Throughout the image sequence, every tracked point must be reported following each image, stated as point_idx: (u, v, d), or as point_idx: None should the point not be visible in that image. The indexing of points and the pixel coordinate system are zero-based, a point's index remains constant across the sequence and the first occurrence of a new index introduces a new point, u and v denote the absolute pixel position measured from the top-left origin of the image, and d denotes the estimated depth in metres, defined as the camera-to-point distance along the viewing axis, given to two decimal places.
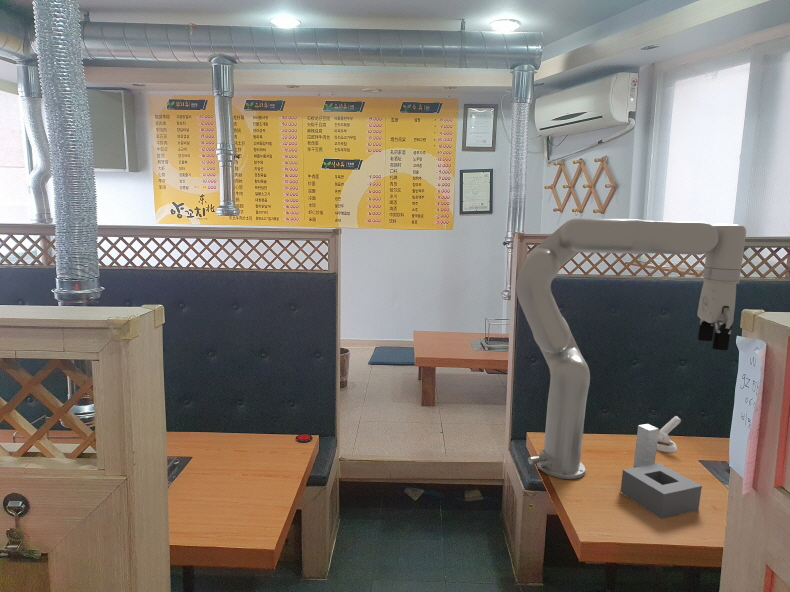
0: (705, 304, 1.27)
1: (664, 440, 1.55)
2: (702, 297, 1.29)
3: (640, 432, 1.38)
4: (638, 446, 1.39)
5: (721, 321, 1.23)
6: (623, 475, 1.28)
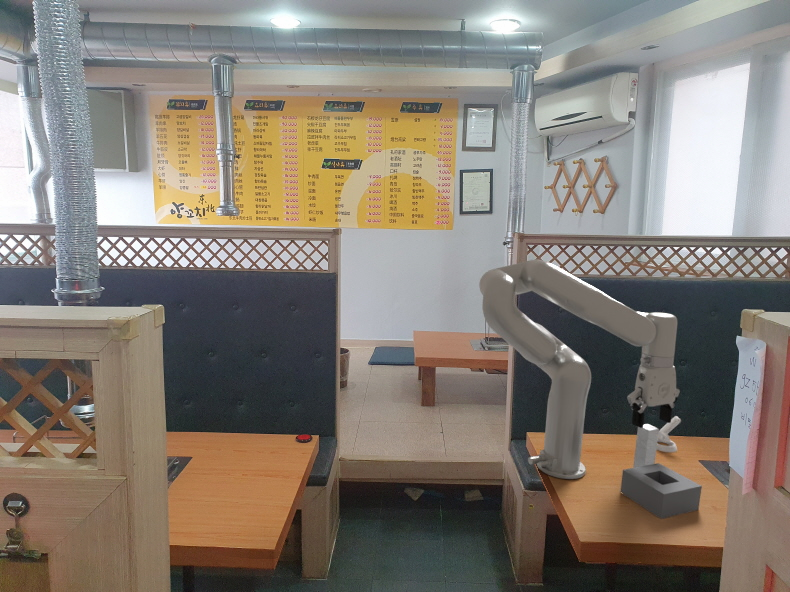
0: (664, 390, 1.34)
1: (664, 440, 1.55)
2: (657, 386, 1.33)
3: (640, 432, 1.38)
4: (638, 446, 1.39)
5: None
6: (623, 475, 1.28)
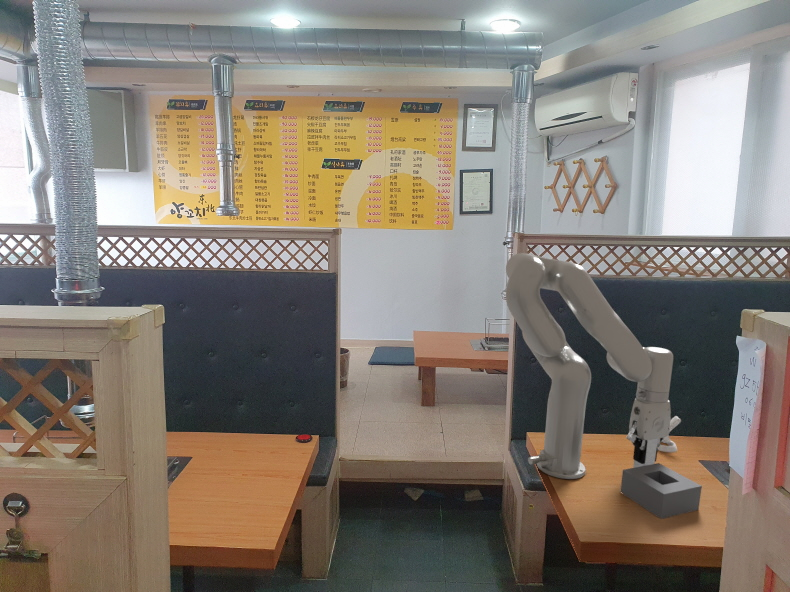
0: (659, 424, 1.35)
1: (664, 440, 1.55)
2: (652, 420, 1.34)
3: None
4: None
5: None
6: (623, 475, 1.28)
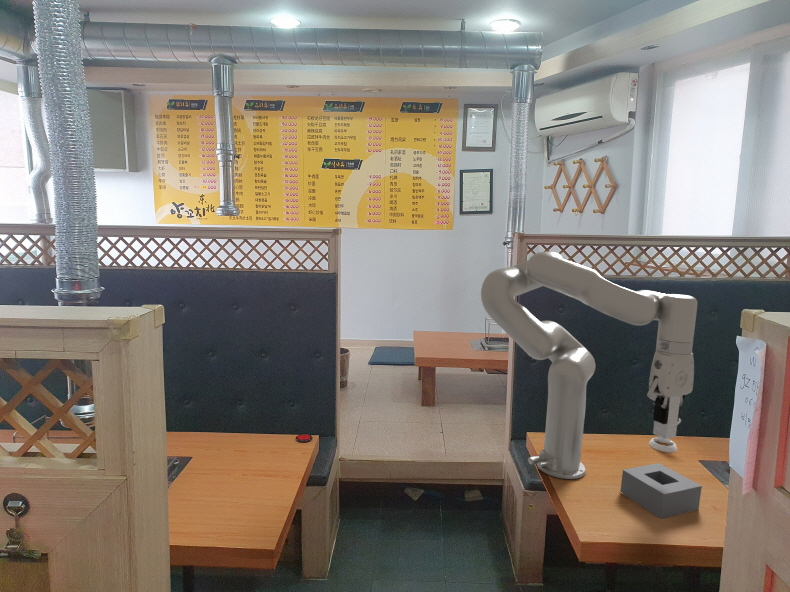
0: (682, 379, 1.22)
1: (664, 440, 1.55)
2: (675, 374, 1.20)
3: None
4: None
5: None
6: (623, 475, 1.28)
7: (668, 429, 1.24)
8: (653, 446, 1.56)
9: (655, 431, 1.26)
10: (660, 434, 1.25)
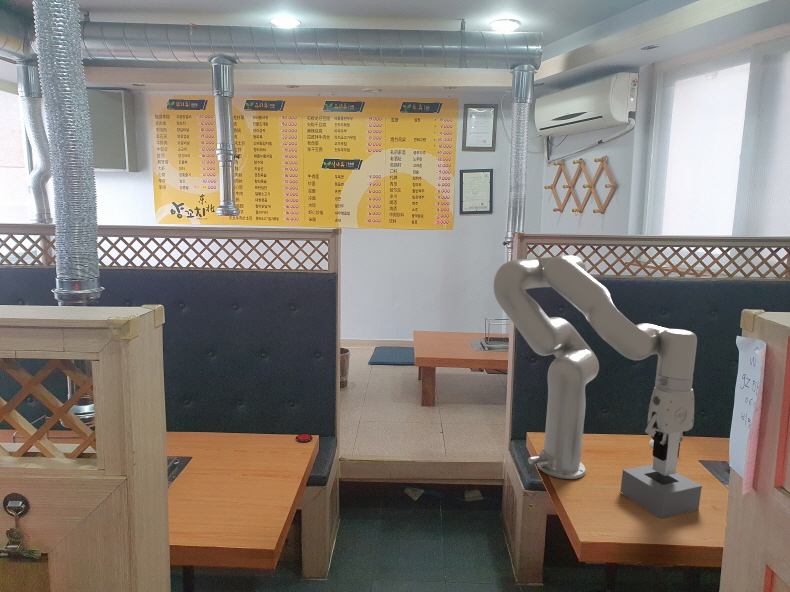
0: (681, 416, 1.20)
1: None
2: (674, 411, 1.19)
3: None
4: None
5: None
6: (623, 475, 1.28)
7: (667, 466, 1.22)
8: None
9: (654, 467, 1.25)
10: (659, 470, 1.23)
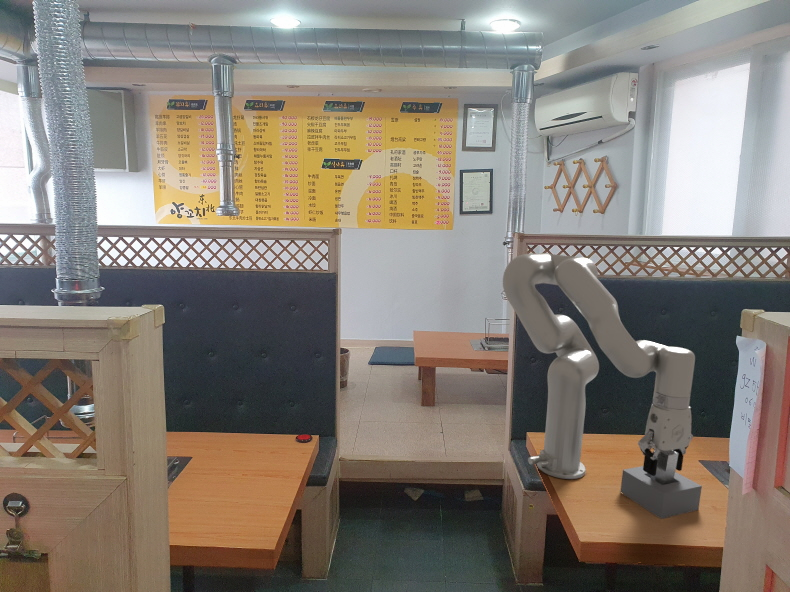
0: (678, 433, 1.21)
1: None
2: (671, 429, 1.19)
3: (657, 457, 1.23)
4: None
5: None
6: (623, 475, 1.28)
7: None
8: None
9: None
10: None
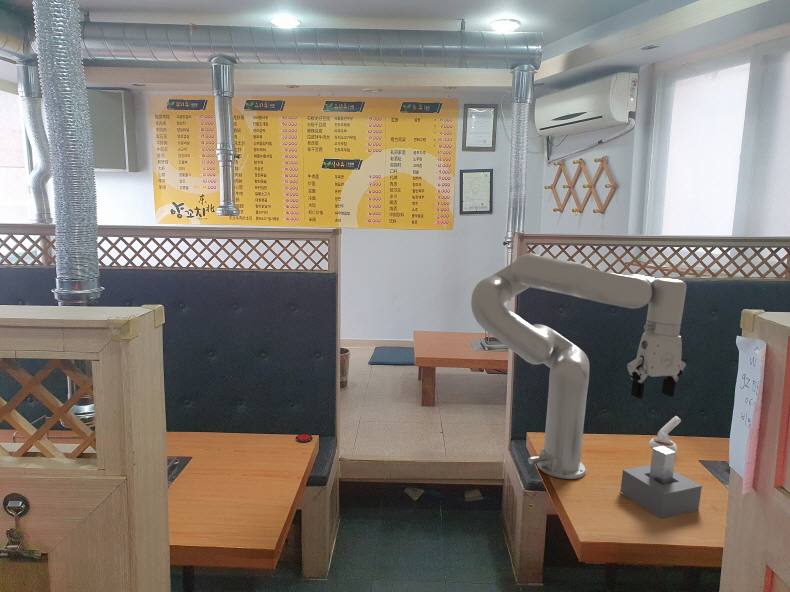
0: (668, 360, 1.26)
1: (664, 440, 1.55)
2: (660, 355, 1.25)
3: (655, 456, 1.24)
4: (653, 472, 1.25)
5: None
6: (623, 475, 1.28)
7: None
8: (653, 446, 1.56)
9: None
10: None
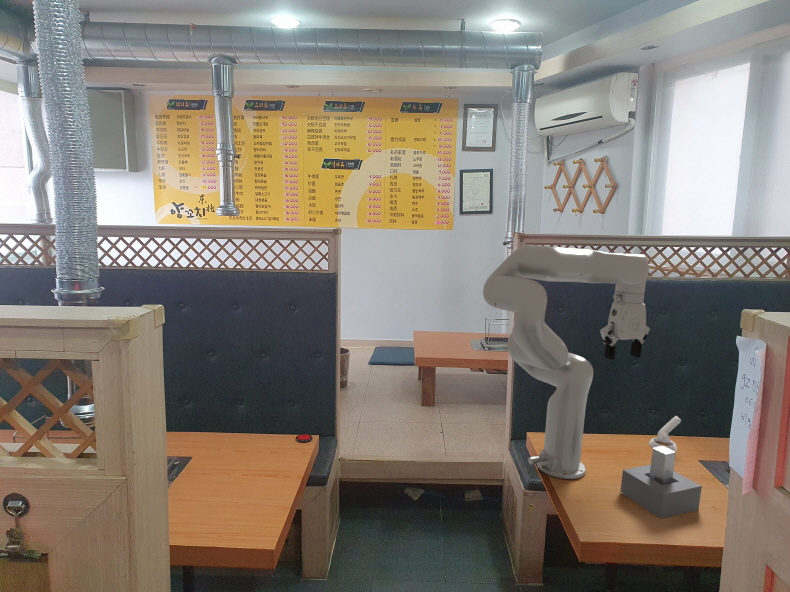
0: (634, 325, 1.44)
1: (664, 440, 1.55)
2: (628, 320, 1.43)
3: (655, 456, 1.24)
4: (653, 472, 1.25)
5: None
6: (623, 475, 1.28)
7: None
8: (653, 446, 1.56)
9: None
10: None
